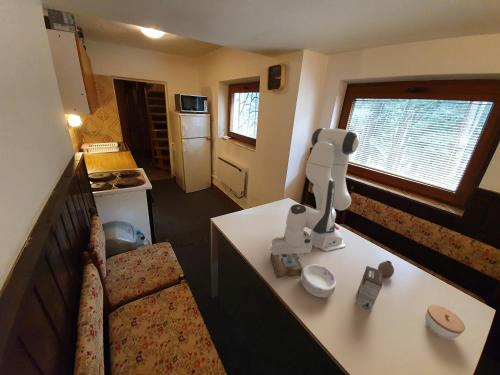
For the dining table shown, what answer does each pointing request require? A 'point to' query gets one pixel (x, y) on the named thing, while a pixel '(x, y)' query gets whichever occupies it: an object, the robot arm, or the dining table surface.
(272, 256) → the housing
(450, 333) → the lidded jar
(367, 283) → the coffee box
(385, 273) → the vase
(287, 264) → the cover
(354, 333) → the dining table surface
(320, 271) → the white round bowl
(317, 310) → the dining table surface
